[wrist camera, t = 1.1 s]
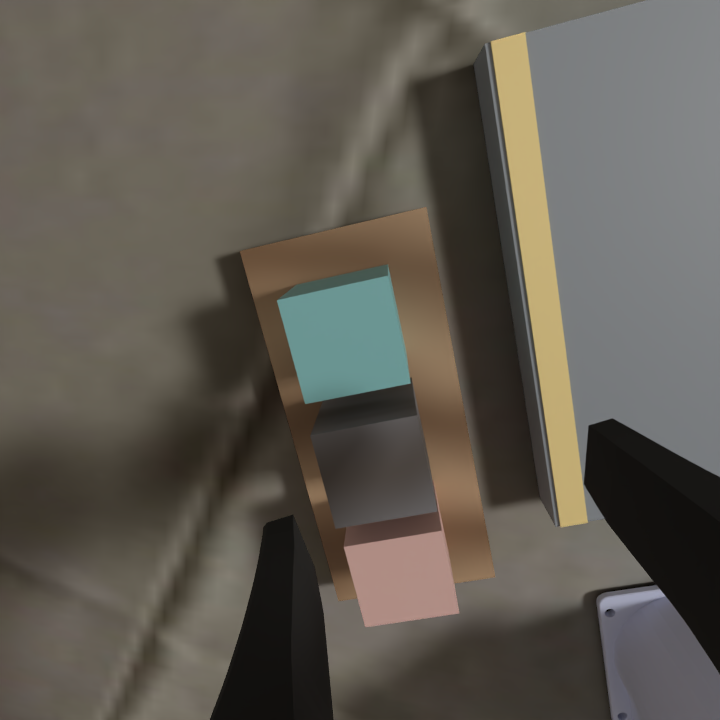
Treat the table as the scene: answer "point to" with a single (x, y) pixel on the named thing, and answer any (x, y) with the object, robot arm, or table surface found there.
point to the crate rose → (401, 569)
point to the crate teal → (345, 334)
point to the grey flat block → (610, 230)
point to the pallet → (422, 363)
